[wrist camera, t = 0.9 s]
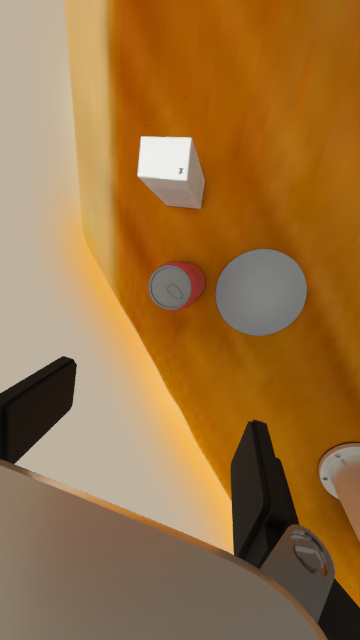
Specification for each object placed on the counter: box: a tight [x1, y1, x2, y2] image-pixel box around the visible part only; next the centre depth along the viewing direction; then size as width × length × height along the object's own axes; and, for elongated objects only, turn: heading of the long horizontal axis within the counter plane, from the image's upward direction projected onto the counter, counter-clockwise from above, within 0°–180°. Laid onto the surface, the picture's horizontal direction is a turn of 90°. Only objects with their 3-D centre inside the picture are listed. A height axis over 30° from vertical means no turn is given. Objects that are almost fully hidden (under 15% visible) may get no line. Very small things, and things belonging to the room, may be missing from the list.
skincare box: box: [137, 136, 205, 209], centre depth 30 cm, size 6×4×12 cm
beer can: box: [149, 261, 205, 311], centre depth 33 cm, size 7×7×12 cm
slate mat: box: [216, 249, 307, 335], centre depth 36 cm, size 14×14×1 cm
